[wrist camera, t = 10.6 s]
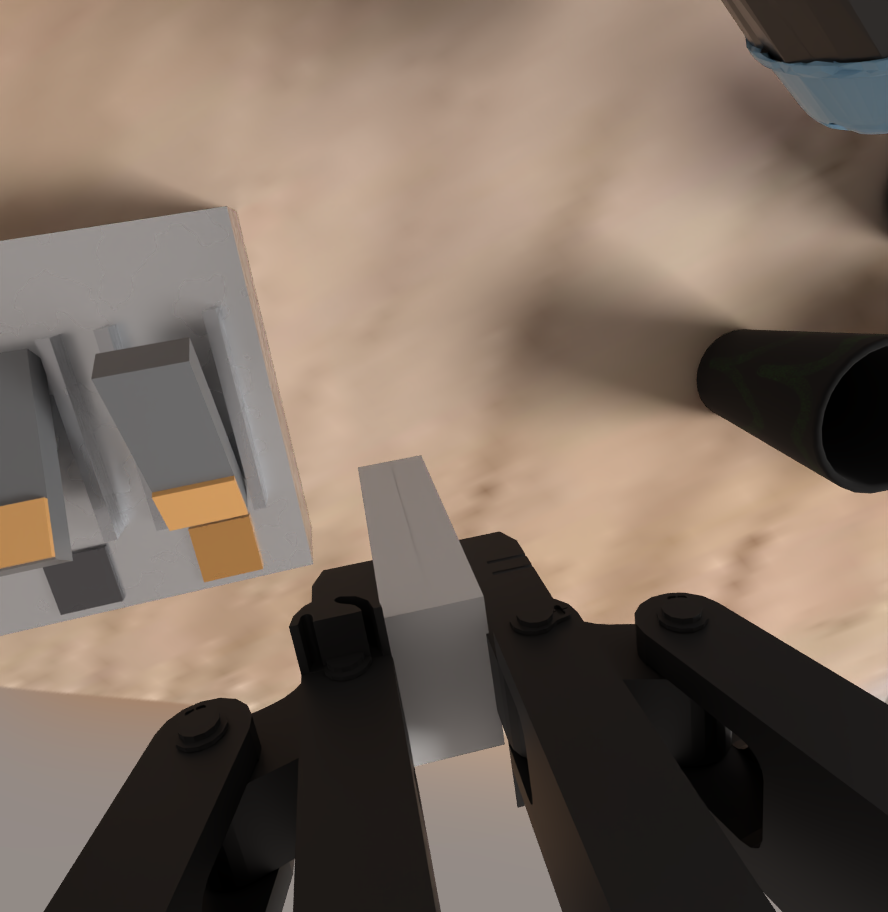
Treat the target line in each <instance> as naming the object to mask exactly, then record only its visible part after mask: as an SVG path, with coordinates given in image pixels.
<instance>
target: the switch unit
mask: <svg viewBox="0 0 888 912" xmlns="http://www.w3.org/2000/svg"><path fill="white" fill-rule="evenodd" d="M187 337H190V340H191V342H192V345H193V347H194V350H195V353H196V355H197V358H198V361H199V363H200V366H201V368H202V371H203V374H204V376H205V379H206V382H207V384H208V387H209V389H210V392H211V395H212V397H213V400H214V403H215V405H216V408H217V411H218V413H219V416H220V418H221V421H222V424H223V426H224V429H225V432H226V434H227V437H228V439H229V442H230V445H231V447H232V450H233V453H234V455H235V458H236V461H237V463H238V466H239V468H240V471H241V474H242V476H243V479H244V482H245V484H246V488H247V503H248V514H247V515H242V516H237V517H233V518H228V519H223V520H219V521H214V522H209V523H205V524H200V525H196V526H191V527H186V528H182V529H177V530H172V531H169V529H168V527H167V525H166V523H165V521H164V520H163V518H162V516H161V514H160V512H159V510H158V508H157V507H156V505H155V503H154V501H153V499H152V492H151V490H150V488H149V486H148V484H147V482H146V481H145V479H144V477H143V475H142V473H141V471H140V469H139V467H138V466H137V464H136V462H135V460H134V458H133V456H132V454H131V453H130V451H129V449H128V447H127V445H126V443H125V441H124V439H123V438H122V436H121V434H120V432H119V430H118V428H117V426H116V425H115V423H114V421H113V419H112V417H111V415H110V413H109V411H108V410H107V408H106V406H105V404H104V402H103V400H102V398H101V397H100V395H99V393H98V391H97V389H96V387H95V385H94V383H93V382H92V380H91V377H92V371H93V365H94V360H95V354H98V353H103V352H109V351H114V350H120V349H126V348H131V347H137V346H142V345H148V344H154V343H159V342H165V341H170V340H176V339H182V338H187ZM24 348H27V349H29V350H30V351H31V352H33V353H34V354H36V355H37V356H39V357H40V358H41V361H42V364H43V367H44V370H45V372H46V375H47V382H48V389H49V396H50V403H51V410H52V417H53V424H54V431H55V438H56V445H57V452H58V459H59V466H60V473H61V481H62V488H63V495H64V502H65V509H66V516H67V523H68V530H69V537H70V544H71V551H72V558H73V561H70V562H65V563H61V564H56V565H52V566H47V567H42V568H38V569H33V570H29V571H24V572H19V573H15V574H10V575H6V576H1V577H0V636H2V635H6V634H10V633H15V632H19V631H23V630H28V629H32V628H37V627H41V626H45V625H50V624H54V623H58V622H63V621H67V620H71V619H76V618H80V617H85V616H89V615H93V614H98V613H102V612H106V611H111V610H115V609H119V608H124V607H128V606H133V605H137V604H141V603H146V602H150V601H154V600H159V599H163V598H167V597H172V596H176V595H181V594H185V593H189V592H194V591H198V590H202V589H207V588H211V587H215V586H220V585H224V584H229V583H233V582H237V581H242V580H246V579H250V578H255V577H259V576H263V575H268V574H272V573H277V572H281V571H285V570H290V569H294V568H298V567H303V566H307V565H311V564H313V546H312V527H311V523H310V518H309V514H308V510H307V506H306V501H305V497H304V493H303V489H302V485H301V480H300V476H299V472H298V468H297V464H296V459H295V455H294V451H293V447H292V443H291V438H290V434H289V430H288V426H287V422H286V417H285V413H284V409H283V405H282V400H281V396H280V392H279V388H278V384H277V379H276V375H275V371H274V367H273V363H272V358H271V354H270V350H269V346H268V342H267V337H266V333H265V329H264V325H263V321H262V316H261V312H260V308H259V304H258V299H257V295H256V291H255V287H254V283H253V278H252V274H251V270H250V266H249V262H248V257H247V253H246V249H245V245H244V241H243V236H242V232H241V228H240V224H239V220H238V215H237V212H236V211H235V210H233V209H231V208H229V207H227V206H225V207H218V208H212V209H205V210H198V211H192V212H185V213H179V214H172V215H166V216H159V217H153V218H146V219H140V220H133V221H127V222H120V223H114V224H107V225H101V226H94V227H88V228H81V229H75V230H68V231H62V232H55V233H49V234H42V235H36V236H29V237H23V238H16V239H10V240H3V241H0V353H2V352H7V351H13V350H19V349H24Z"/></svg>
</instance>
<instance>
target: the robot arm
mask: <svg viewBox="0 0 888 912" xmlns="http://www.w3.org/2000/svg"><path fill="white" fill-rule="evenodd" d="M721 1H722V2H723V4H724V5H725V7H726V8H727V10H728V11H729V13H730V14H731V16H732V17H733V19H734V20H735V21H736V23H737V24H738V26H739V27H740V29H741V30H742V32H743V33H744V35H745V38H746V45H747V48H748V50H749V51H750V53H751V54H752V56H753V57H754V58H755V59H756V60H757V61H758V62H760V63H761V64H762V65H764V66H765V67H768V68H770V69H772V70H773V72H774V73H775V74H776V75H777V77H778V78H779V79H780V81H781V82H782V83H783V84H784V86H785V87H786V88H787V90H788V91H789V92H790V93H791V95H792V96H793V97H794V99H795V100H796V101H797V102H798V104H799V105H800V106H801V108H802V109H803V110H804V111H805V112H806V113H807V114H808V115H809V116H810V117H812V118H813V119H814V120H816V121H817V122H819V123H821V124H823V125H825V126H827V127H829V128H833V129H839V130H850V131H854V132H857V133H859V134H888V0H721ZM358 471H359V477H360V483H361V490H362V496H363V502H364V508H365V515H366V521H367V527H368V534H369V540H370V546H371V552H372V559H373V560H371V561H366V562H361V563H357V564H352V565H347V566H342V567H338V568H333V569H328V570H323V571H322V573H321V574H320V576H319V577H318V578H317V580H316V581H315V583H314V584H313V585H312V602H311V603H309V604H307V605H305V606H304V607H303V608H301V609H300V610H299V611H298V612H297V613H296V614H295V615H294V616H293V618H292V621H291V623H290V626H289V629H290V633H291V636H292V640H293V644H294V648H295V652H296V656H297V660H298V664H299V667H300V671H301V675H302V676H301V684H300V685H299V686H298V687H297V688H296V689H295V690H294V691H293V692H291V693H290V694H289V695H287V696H286V697H285V698H283V699H281V700H279V701H277V702H276V703H274V704H272V705H270V706H268V707H266V708H263V709H261V710H259V711H257V712H255V713H252V714H251V712H250V710H249V708H248V706H247V705H246V704H244V703H243V702H241V701H239V700H237V699H229V698H217V699H212V700H207V701H202V702H200V703H197V704H195V705H192V706H190V707H188V708H186V709H184V710H182V711H181V712H179V713H178V714H176V715H175V716H173V717H172V718H171V719H169V720H168V721H167V722H166V723H165V724H164V725H163V726H162V727H161V728H160V730H159V731H158V732H157V733H156V734H155V735H154V737H153V739H152V740H151V742H150V743H149V745H148V747H147V748H146V750H145V751H144V753H143V755H142V756H141V758H140V759H139V761H138V762H137V764H136V766H135V767H134V769H133V770H132V772H131V774H130V775H129V777H128V779H127V780H126V782H125V783H124V785H123V786H122V788H121V789H120V791H119V793H118V794H117V796H116V797H115V799H114V801H113V802H112V804H111V806H110V807H109V809H108V810H107V812H106V814H105V815H104V817H103V818H102V820H101V821H100V823H99V825H98V826H97V828H96V829H95V831H94V833H93V834H92V836H91V837H90V839H89V840H88V842H87V844H86V845H85V847H84V849H83V850H82V852H81V853H80V855H79V856H78V858H77V859H76V861H75V863H74V864H73V866H72V868H71V869H70V871H69V872H68V874H67V875H66V877H65V879H64V880H63V882H62V883H61V885H60V887H59V888H58V890H57V891H56V893H55V894H54V896H53V898H52V899H51V901H50V903H49V904H48V906H47V907H46V909H45V910H44V912H282V909H283V906H284V903H285V899H286V896H287V892H288V889H289V885H290V882H291V879H292V875H293V867H294V859H295V875H294V905H293V912H441V910H440V904H439V899H438V893H437V888H436V882H435V877H434V871H433V866H432V860H431V854H430V849H429V843H428V838H427V832H426V827H425V821H424V816H423V810H422V804H421V799H420V794H419V788H418V783H417V778H416V774H415V768H414V766H418V765H422V764H427V763H430V762H435V761H439V760H443V759H446V758H451V757H455V756H459V755H463V754H467V753H471V752H475V751H479V750H483V749H487V748H492V747H496V746H500V745H504V744H505V743H504V736H503V729H502V725H503V728H504V731H505V733H506V736H507V739H508V742H509V750H510V757H511V764H512V771H513V778H514V785H515V792H516V799H517V806H518V807H521V806H525V807H526V809H527V812H528V815H529V818H530V821H531V824H532V827H533V829H534V832H535V835H536V838H537V841H538V844H539V846H540V849H541V852H542V855H543V858H544V861H545V864H546V866H547V869H548V872H549V875H550V878H551V881H552V883H553V886H554V889H555V892H556V895H557V898H558V900H559V903H560V906H561V909H562V912H776V911H775V909H774V908H773V906H772V905H771V903H770V902H769V900H768V899H767V897H766V896H765V894H766V895H767V896H768V897H769V898H770V899H771V900H772V901H773V902H774V904H776V906H778V908H779V909H780V910H781V911H782V912H888V705H887V704H886V703H884V702H883V701H881V700H879V699H878V698H876V697H874V696H873V695H871V694H869V693H868V692H866V691H864V690H863V689H861V688H859V687H858V686H856V685H854V684H853V683H851V682H849V681H848V680H846V679H844V678H843V677H841V676H839V675H838V674H836V673H834V672H833V671H831V670H829V669H828V668H826V667H824V666H823V665H821V664H819V663H818V662H816V661H814V660H813V659H811V658H809V657H808V656H806V655H804V654H803V653H801V652H799V651H798V650H796V649H794V648H793V647H791V646H789V645H788V644H786V643H784V642H783V641H781V640H779V639H778V638H776V637H774V636H773V635H771V634H769V633H768V632H766V631H764V630H763V629H761V628H759V627H758V626H756V625H754V624H753V623H751V622H749V621H748V620H746V619H744V618H743V617H741V616H739V615H738V614H736V613H734V612H733V611H731V610H729V609H728V608H726V607H724V606H723V605H721V604H719V603H718V602H715V601H713V600H711V599H708V598H706V597H704V596H700V595H694V594H688V593H667V594H663V595H659V596H655V597H651V598H650V599H648V600H646V601H645V602H643V603H641V604H640V605H639V607H638V609H637V610H636V612H635V624H615V625H607V624H594V623H589V622H584V621H583V620H582V618H581V617H580V615H579V614H578V612H577V611H576V610H575V609H573V608H572V607H571V606H570V605H569V604H567V603H564V602H562V601H559V600H556V599H553V598H552V596H551V594H550V593H549V591H548V590H547V588H546V586H545V585H544V583H543V582H542V580H541V579H540V577H539V575H538V574H537V572H536V571H535V569H534V567H532V565H531V563H530V561H529V559H528V558H527V556H525V553H524V551H523V550H522V548H521V547H520V545H519V543H518V542H517V540H515V539H513V538H511V537H509V536H507V535H505V534H503V533H501V532H495V533H490V534H485V535H481V536H476V537H471V538H466V539H462V540H458V537H457V535H456V533H455V531H454V528H453V526H452V524H451V522H450V519H449V517H448V515H447V513H446V510H445V508H444V506H443V504H442V501H441V499H440V497H439V495H438V492H437V490H436V488H435V486H434V483H433V481H432V479H431V476H430V474H429V472H428V470H427V467H426V465H425V463H424V461H423V458H422V456H421V455H420V456H415V457H410V458H405V459H399V460H394V461H389V462H384V463H379V464H374V465H369V466H363V467H358ZM763 892H764V893H765V894H764V893H763Z"/></svg>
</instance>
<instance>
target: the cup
mask: <svg viewBox="0 0 888 912" xmlns="http://www.w3.org/2000/svg"><path fill="white" fill-rule="evenodd" d="M697 388H698V392H699V395H700V398H701V400H702V401H703V403H704V404H705V405H706V407H708V408H709V409H710V410H711V411H713V412H714V413H716V414H718V415H719V416H721V417H723V418H724V419H726V420H728V421H729V422H731V423H733V424H735V425H736V426H738V427H740V428H741V429H743V430H745V431H746V432H748V433H750V434H751V435H753V436H755V437H757V438H758V439H760V440H762V441H763V442H765V443H767V444H768V445H770V446H772V447H774V448H775V449H777V450H779V451H780V452H782V453H784V454H785V455H787V456H789V457H791V458H792V459H794V460H796V461H797V462H799V463H801V464H802V465H804V466H806V467H808V468H809V469H811V470H813V471H814V472H816V473H818V474H819V475H821V476H823V477H825V478H826V479H828V480H830V481H831V482H833V483H835V484H836V485H838V486H840V487H842V488H845V489H847V490H850V491H853V492H857V493H876V492H881V491H886V490H888V334H859V333H830V332H800V331H771V330H736V331H732V332H729V333H727V334H724V335H723V336H721V337H720V338H718V339H717V340H716V341H714V342H713V343H712V345H711V346H710V347H709V348H708V349H707V350H706V352H705V354H704V356H703V357H702V359H701V362H700V365H699V368H698V373H697Z"/></svg>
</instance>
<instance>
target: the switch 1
mask: <svg viewBox="0 0 888 912" xmlns="http://www.w3.org/2000/svg"><path fill="white" fill-rule="evenodd" d="M70 561H73V558H72V551H71V544H70V537H69V530H68V523H67V516H66V509H65V502H64V495H63V488H62V481H61V473H60V466H59V459H58V452H57V445H56V438H55V431H54V424H53V417H52V410H51V403H50V396H49V389H48V382H47V375H46V372H45V370H44V367H43V364H42V361H41V358H40V357H39V356H37V355H36V354H34V353H33V352H31V351H30V350H29V349H27V348H24V349H19V350H13V351H7V352H2V353H0V577H1V576H6V575H10V574H15V573H19V572H24V571H29V570H33V569H38V568H42V567H47V566H52V565H56V564H61V563H65V562H70Z"/></svg>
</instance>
